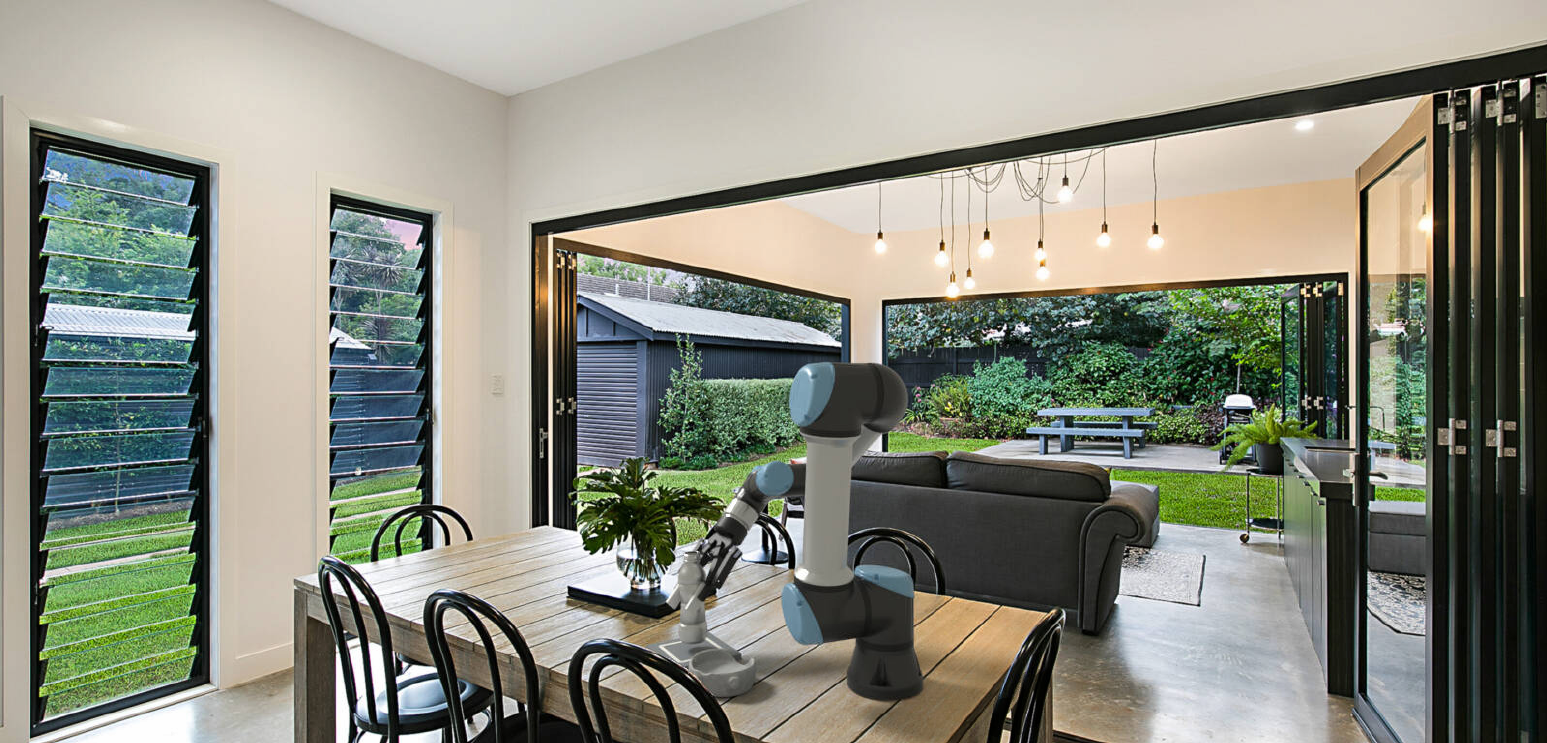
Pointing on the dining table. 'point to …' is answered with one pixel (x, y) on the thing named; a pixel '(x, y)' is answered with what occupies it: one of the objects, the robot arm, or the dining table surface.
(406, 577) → the dining table surface
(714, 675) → the dish
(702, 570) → the plastic bottle
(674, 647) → the slate board
